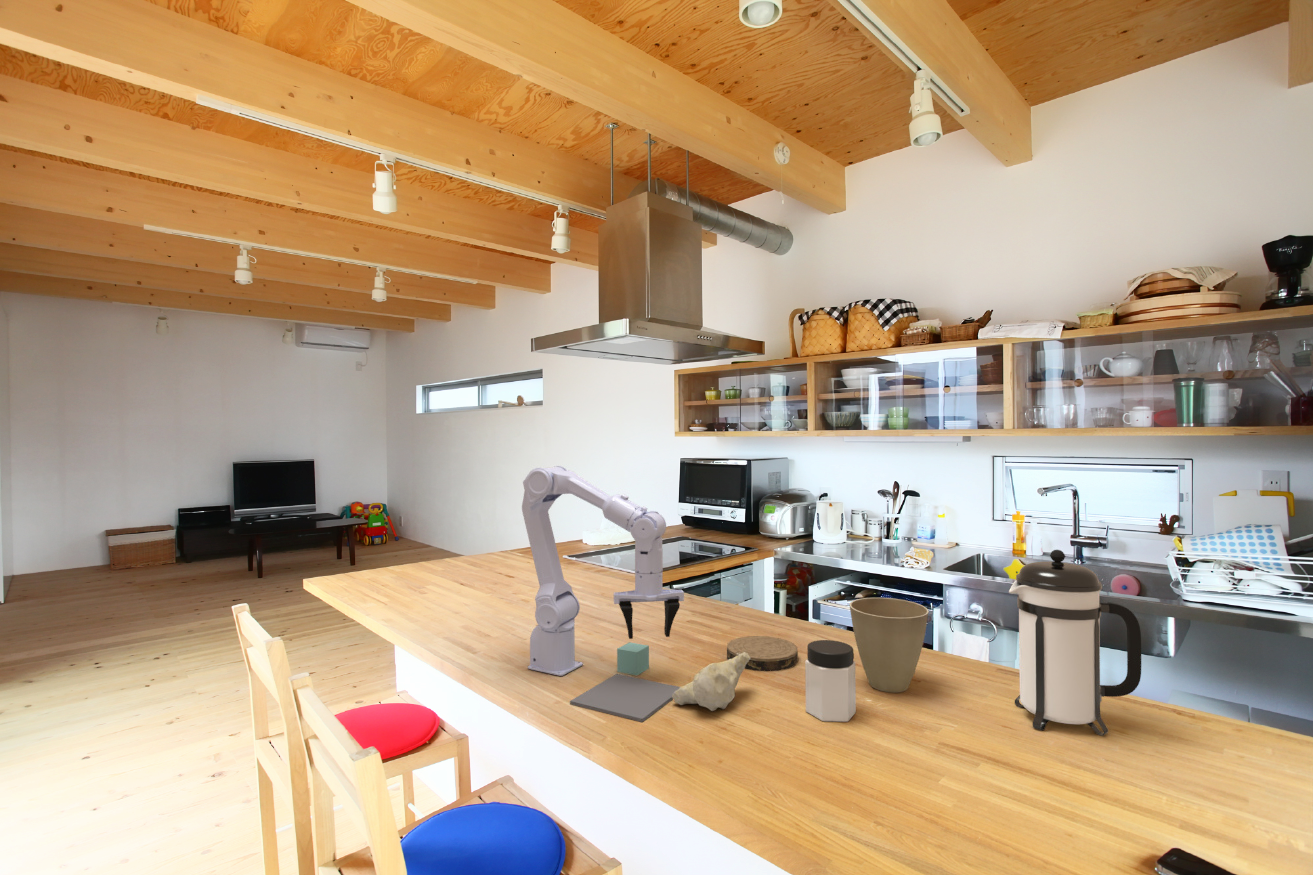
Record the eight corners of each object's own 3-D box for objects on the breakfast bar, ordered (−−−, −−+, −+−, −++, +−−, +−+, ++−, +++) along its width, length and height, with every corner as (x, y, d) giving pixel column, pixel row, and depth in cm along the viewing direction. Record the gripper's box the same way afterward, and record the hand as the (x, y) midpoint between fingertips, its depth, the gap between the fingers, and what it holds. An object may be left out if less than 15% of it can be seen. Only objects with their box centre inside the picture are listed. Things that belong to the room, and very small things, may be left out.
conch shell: (683, 733, 113) (749, 683, 111) (661, 696, 116) (725, 647, 115) (710, 725, 126) (769, 681, 125) (689, 692, 130) (747, 648, 128)
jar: (865, 717, 114) (865, 650, 114) (830, 726, 111) (829, 657, 111) (831, 699, 122) (831, 636, 122) (797, 707, 119) (796, 642, 119)
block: (617, 671, 138) (617, 648, 138) (629, 664, 142) (629, 642, 142) (637, 676, 135) (636, 652, 135) (649, 668, 140) (648, 645, 140)
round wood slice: (778, 678, 134) (778, 664, 134) (713, 662, 144) (713, 649, 144) (809, 657, 147) (809, 644, 147) (748, 644, 156) (748, 631, 156)
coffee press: (1085, 750, 102) (1084, 561, 102) (992, 712, 116) (991, 547, 116) (1144, 726, 110) (1142, 552, 110) (1050, 694, 124) (1048, 539, 124)
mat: (570, 704, 121) (570, 700, 121) (616, 676, 135) (616, 673, 135) (642, 722, 113) (642, 718, 113) (684, 690, 127) (684, 687, 127)
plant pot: (837, 687, 128) (836, 607, 128) (869, 667, 139) (868, 593, 139) (911, 708, 118) (911, 621, 118) (940, 684, 129) (939, 605, 129)
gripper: (615, 576, 128) (616, 644, 128) (687, 573, 130) (687, 640, 130) (612, 569, 135) (612, 633, 135) (680, 566, 137) (680, 630, 137)
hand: (648, 636), depth 133 cm, fingers open, 7 cm apart
